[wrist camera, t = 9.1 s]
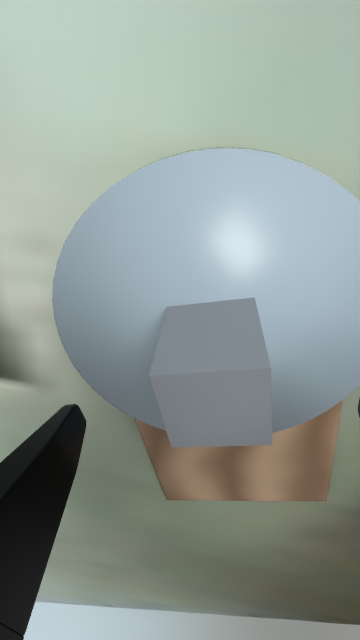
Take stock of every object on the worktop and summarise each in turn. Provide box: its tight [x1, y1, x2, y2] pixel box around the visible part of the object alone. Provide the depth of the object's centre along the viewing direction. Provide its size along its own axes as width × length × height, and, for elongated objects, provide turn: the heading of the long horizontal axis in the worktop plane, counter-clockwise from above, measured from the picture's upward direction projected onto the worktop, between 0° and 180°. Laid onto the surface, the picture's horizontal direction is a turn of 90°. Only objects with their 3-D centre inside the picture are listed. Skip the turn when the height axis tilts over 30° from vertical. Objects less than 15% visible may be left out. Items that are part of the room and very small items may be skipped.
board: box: [135, 401, 342, 501], centre depth 27 cm, size 16×16×1 cm
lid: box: [53, 147, 360, 447], centre depth 12 cm, size 14×14×5 cm
